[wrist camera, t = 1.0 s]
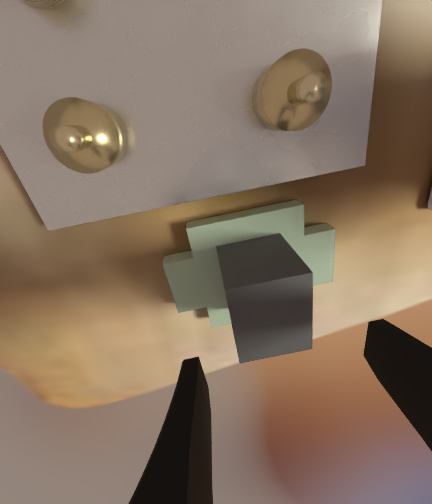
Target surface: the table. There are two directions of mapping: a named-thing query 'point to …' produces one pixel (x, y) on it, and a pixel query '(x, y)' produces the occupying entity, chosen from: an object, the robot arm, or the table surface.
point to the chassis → (180, 98)
